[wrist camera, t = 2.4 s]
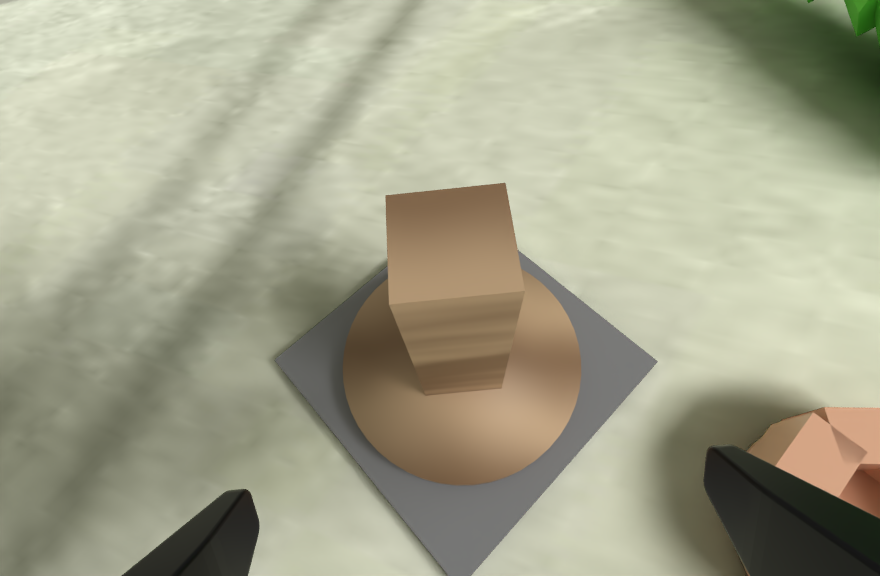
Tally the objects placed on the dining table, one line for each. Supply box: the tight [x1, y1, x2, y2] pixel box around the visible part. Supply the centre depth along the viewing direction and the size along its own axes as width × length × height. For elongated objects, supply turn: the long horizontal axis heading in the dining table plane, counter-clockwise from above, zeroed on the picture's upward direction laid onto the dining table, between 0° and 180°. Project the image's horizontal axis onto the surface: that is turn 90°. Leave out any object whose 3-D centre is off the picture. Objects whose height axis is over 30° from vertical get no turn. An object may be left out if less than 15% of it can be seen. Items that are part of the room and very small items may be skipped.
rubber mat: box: [275, 250, 658, 576], centre depth 22 cm, size 13×13×1 cm
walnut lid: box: [343, 183, 581, 486], centre depth 17 cm, size 11×11×11 cm
